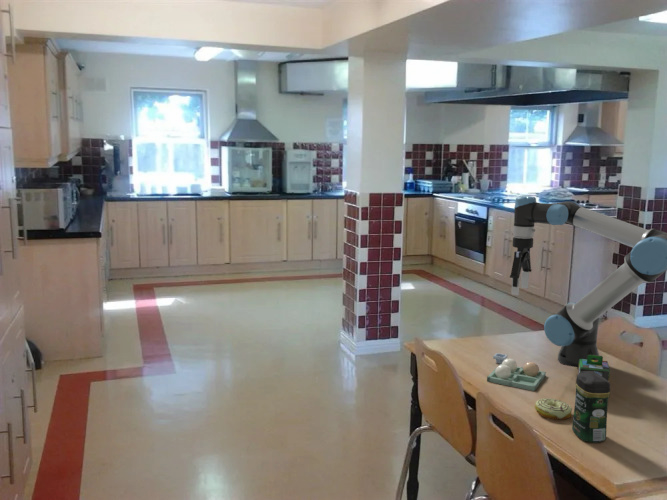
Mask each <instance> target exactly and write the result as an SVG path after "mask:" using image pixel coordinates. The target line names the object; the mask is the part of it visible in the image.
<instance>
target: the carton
mask: <svg viewBox="0 0 667 500" xmlns="http://www.w3.org/2000/svg"><path fill="white" fill-rule="evenodd" d="M499 365H502V363H499ZM495 370H496V368H494V370H493V371H491V372H490V373H489V375H488V376H487V377H486V382H489V383H494V384H498V385H503V386H506V387H507V386H508V387H513V388H516V389H521V390H526V391H527V390H528V391H533V392H535V391H536V390H537V388H538V387H539V385H540V384H541V383H542V381H543V380H544V379H545V378H546V374H547V373H546V371H543V370H539V373H538V375H537V376H535V377H530V376H526V375H525V373H524V371H523V367H521V366H517V369H516V371H515V372H514V373H511V376H510V378H509V379H507V380H505V379H500V378H497V376H496V374H495Z"/></svg>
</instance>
